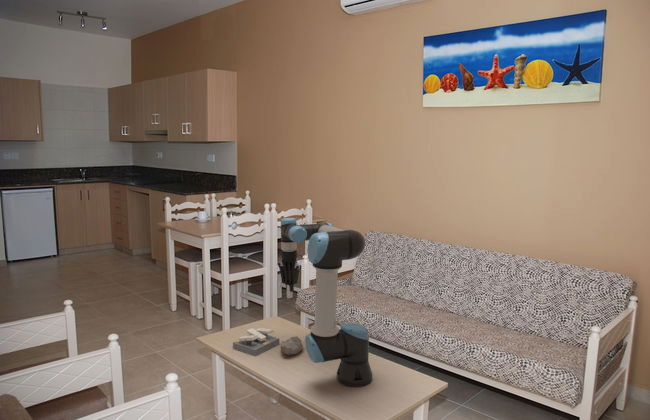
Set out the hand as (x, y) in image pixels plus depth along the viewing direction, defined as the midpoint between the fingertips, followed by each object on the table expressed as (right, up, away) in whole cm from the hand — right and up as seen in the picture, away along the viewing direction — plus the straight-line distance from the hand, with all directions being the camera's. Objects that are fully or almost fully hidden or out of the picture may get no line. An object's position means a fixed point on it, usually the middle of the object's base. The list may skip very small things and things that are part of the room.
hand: (289, 297), depth 242 cm
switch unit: (-16, -24, +1) cm, 29 cm away
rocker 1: (-20, -19, -4) cm, 28 cm away
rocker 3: (-13, -18, +4) cm, 23 cm away
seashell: (+1, -25, -6) cm, 26 cm away
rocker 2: (-16, -19, 0) cm, 25 cm away
